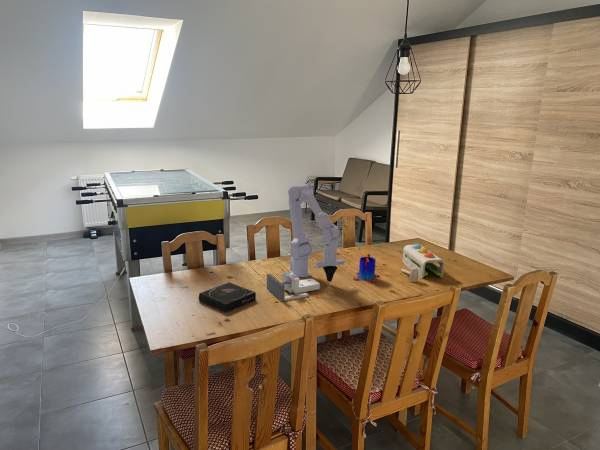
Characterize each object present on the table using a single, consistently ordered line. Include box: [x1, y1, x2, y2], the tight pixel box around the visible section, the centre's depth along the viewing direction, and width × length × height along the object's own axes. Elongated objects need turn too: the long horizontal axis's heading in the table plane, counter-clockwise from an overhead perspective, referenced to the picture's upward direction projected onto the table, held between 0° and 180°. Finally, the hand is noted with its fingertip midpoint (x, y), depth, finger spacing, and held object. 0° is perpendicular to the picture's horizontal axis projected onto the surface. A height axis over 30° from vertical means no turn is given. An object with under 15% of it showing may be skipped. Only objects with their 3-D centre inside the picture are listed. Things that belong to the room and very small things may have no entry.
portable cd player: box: [198, 281, 257, 314], centre depth 192 cm, size 16×17×4 cm
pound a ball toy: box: [400, 243, 446, 283], centre depth 230 cm, size 28×18×12 cm, turn 10°
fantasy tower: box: [352, 253, 381, 284], centre depth 220 cm, size 12×12×12 cm
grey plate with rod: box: [266, 273, 309, 302], centre depth 201 cm, size 15×13×7 cm
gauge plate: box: [281, 271, 297, 295], centre depth 199 cm, size 12×3×7 cm, turn 28°
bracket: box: [289, 273, 321, 294], centre depth 204 cm, size 13×7×8 cm, turn 118°
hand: (329, 280), depth 211 cm, fingers closed
